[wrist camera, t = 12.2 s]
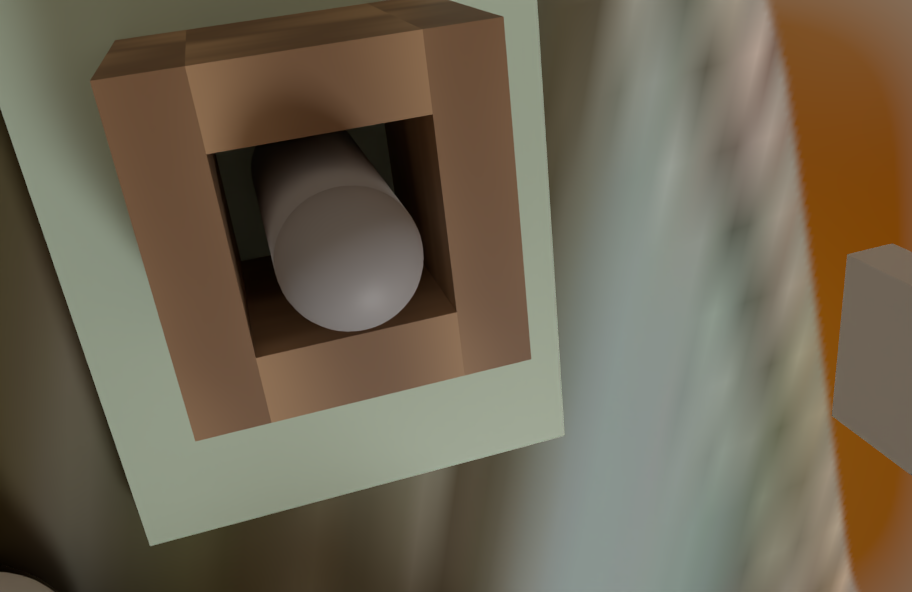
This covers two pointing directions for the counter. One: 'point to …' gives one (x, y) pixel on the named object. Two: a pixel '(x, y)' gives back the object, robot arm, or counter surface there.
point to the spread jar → (21, 581)
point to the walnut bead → (306, 114)
